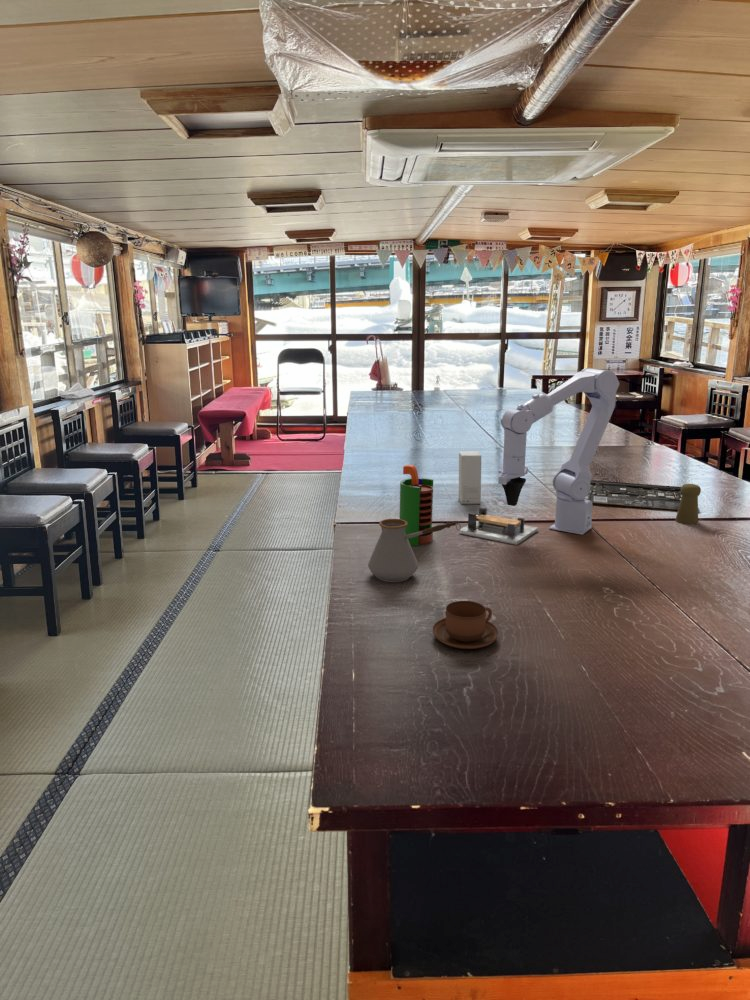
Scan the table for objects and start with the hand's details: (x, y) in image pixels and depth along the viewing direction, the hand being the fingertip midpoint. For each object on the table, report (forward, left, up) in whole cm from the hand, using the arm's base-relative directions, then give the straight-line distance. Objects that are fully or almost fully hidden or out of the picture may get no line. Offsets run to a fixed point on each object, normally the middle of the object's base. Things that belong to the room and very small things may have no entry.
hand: (512, 505), depth 183 cm
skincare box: (+25, -24, -8) cm, 36 cm away
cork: (-37, -39, -8) cm, 54 cm away
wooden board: (+4, 0, -6) cm, 7 cm away
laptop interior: (-18, -58, -9) cm, 61 cm away
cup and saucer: (-18, +61, -9) cm, 64 cm away
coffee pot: (+5, +42, -9) cm, 43 cm away
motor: (+19, +18, -8) cm, 28 cm away
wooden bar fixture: (+4, 0, -8) cm, 9 cm away
